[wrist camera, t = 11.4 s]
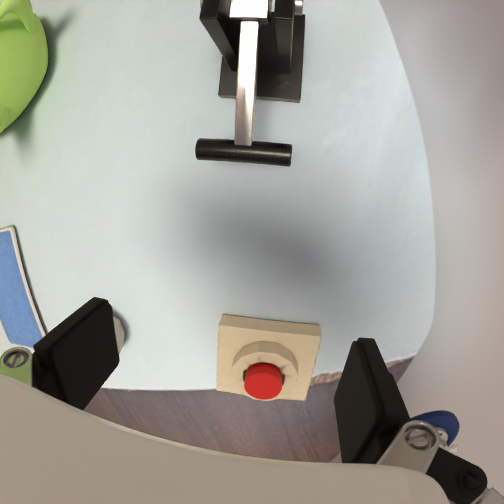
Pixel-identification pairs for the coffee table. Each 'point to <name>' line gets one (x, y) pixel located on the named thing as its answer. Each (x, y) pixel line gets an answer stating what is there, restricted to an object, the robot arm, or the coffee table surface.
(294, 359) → the control box
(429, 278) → the coffee table surface
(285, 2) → the switch bracket
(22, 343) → the tablet
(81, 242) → the coffee table surface
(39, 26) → the teapot
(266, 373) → the stop button
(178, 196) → the coffee table surface
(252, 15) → the lever
